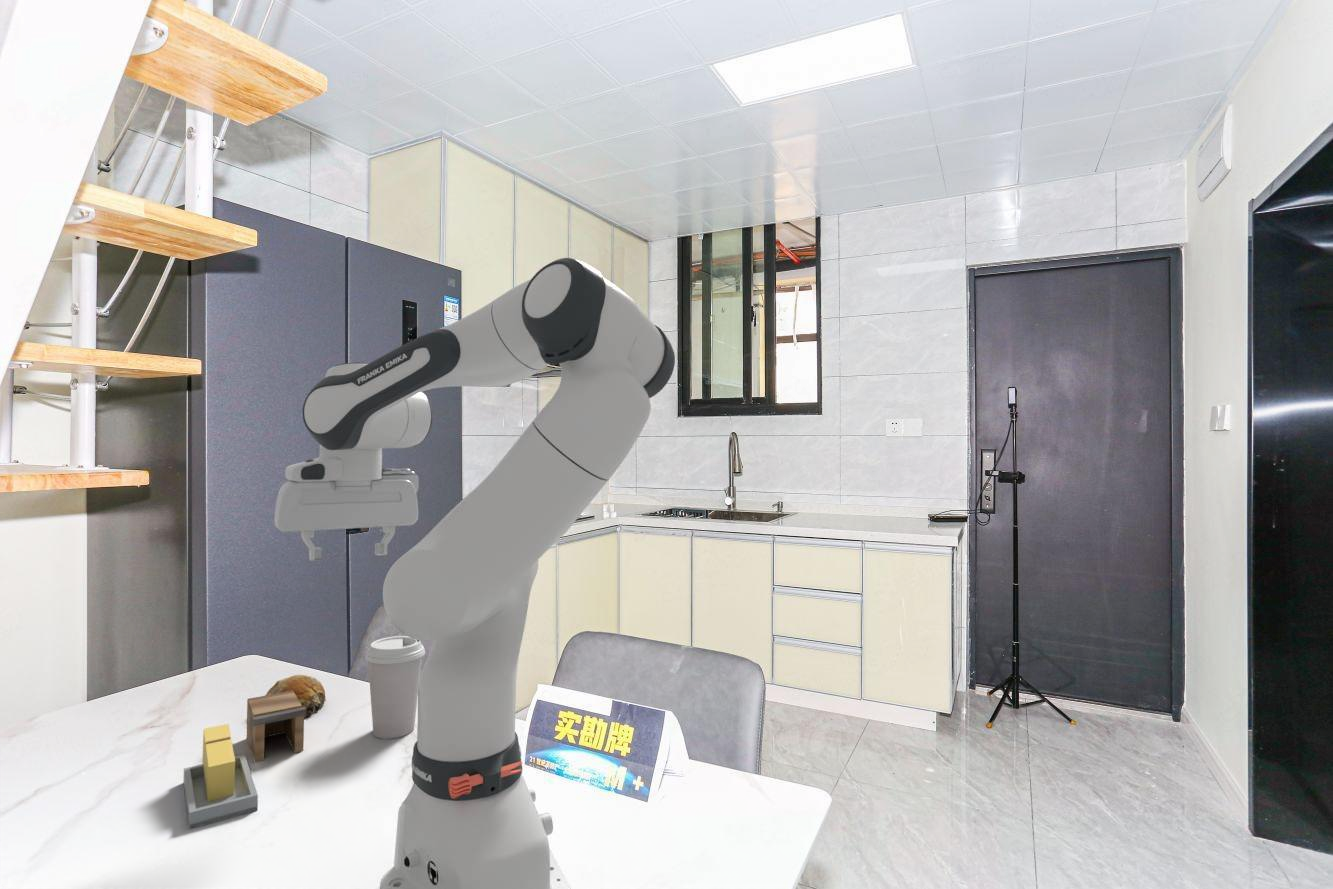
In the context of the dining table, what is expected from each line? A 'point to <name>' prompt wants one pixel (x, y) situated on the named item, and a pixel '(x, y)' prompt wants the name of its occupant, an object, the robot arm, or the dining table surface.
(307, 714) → the bread roll
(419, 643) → the coffee cup
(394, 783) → the dining table surface
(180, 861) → the dining table surface
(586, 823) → the dining table surface
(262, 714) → the dispenser
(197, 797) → the tray
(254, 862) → the dining table surface
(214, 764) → the yellow rectangular block
